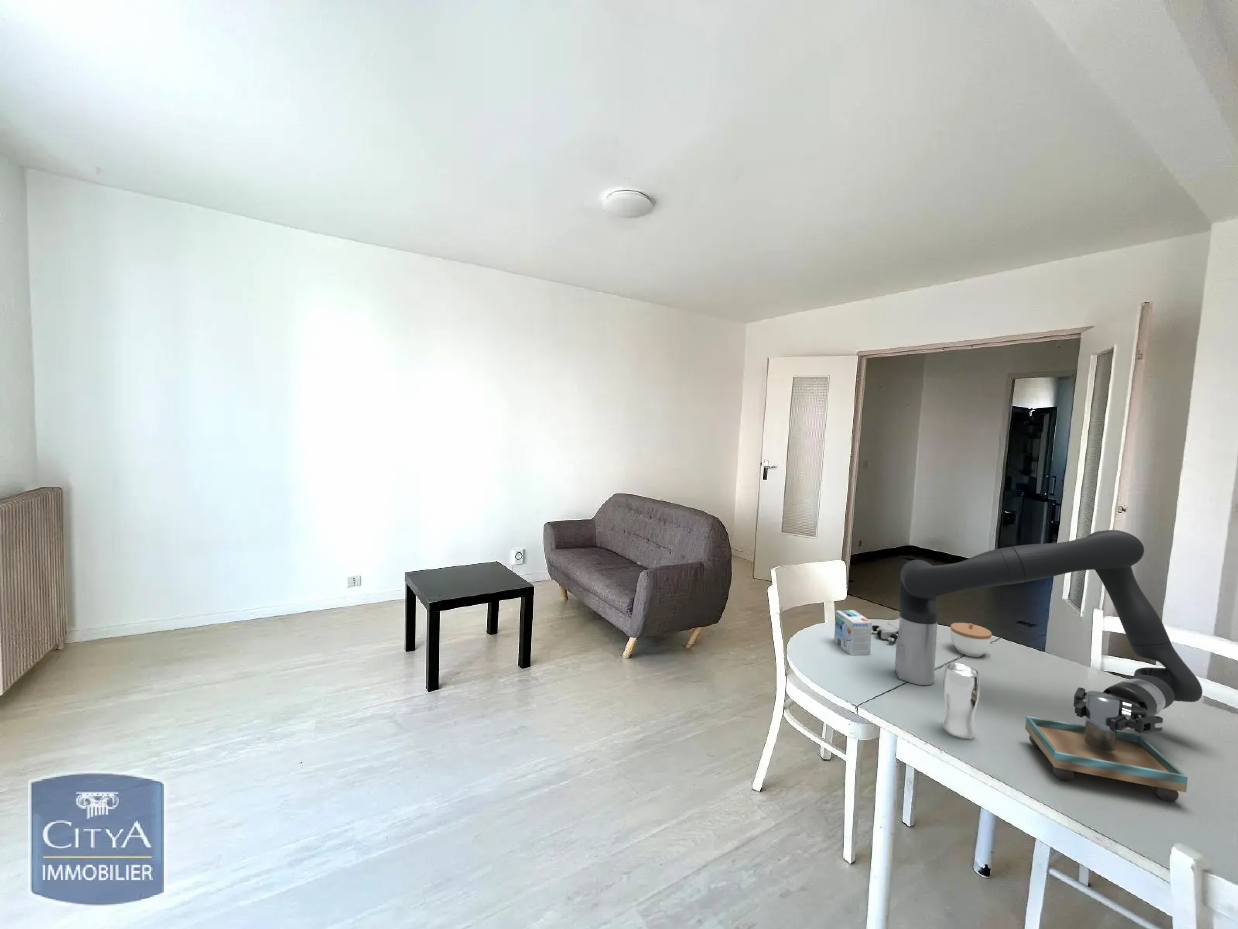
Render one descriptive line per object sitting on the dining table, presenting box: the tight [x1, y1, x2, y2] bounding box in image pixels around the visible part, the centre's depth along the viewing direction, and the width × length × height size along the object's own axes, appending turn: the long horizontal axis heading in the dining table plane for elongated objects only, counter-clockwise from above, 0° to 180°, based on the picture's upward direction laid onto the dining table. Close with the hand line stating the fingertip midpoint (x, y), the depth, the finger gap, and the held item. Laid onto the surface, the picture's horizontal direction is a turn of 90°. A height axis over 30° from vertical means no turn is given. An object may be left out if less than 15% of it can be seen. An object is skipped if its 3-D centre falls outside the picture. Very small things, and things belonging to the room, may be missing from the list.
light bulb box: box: [833, 609, 873, 656], centre depth 162 cm, size 11×7×11 cm, turn 5°
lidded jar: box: [949, 622, 993, 658], centre depth 160 cm, size 11×11×9 cm
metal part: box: [1084, 690, 1120, 751], centre depth 104 cm, size 5×5×10 cm
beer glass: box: [942, 662, 981, 740], centre depth 117 cm, size 7×7×15 cm
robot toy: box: [871, 617, 900, 643], centre depth 172 cm, size 12×4×15 cm
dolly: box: [1024, 715, 1188, 803], centre depth 104 cm, size 20×14×6 cm
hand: (1095, 718), depth 103 cm, fingers closed on metal part, 4 cm apart
